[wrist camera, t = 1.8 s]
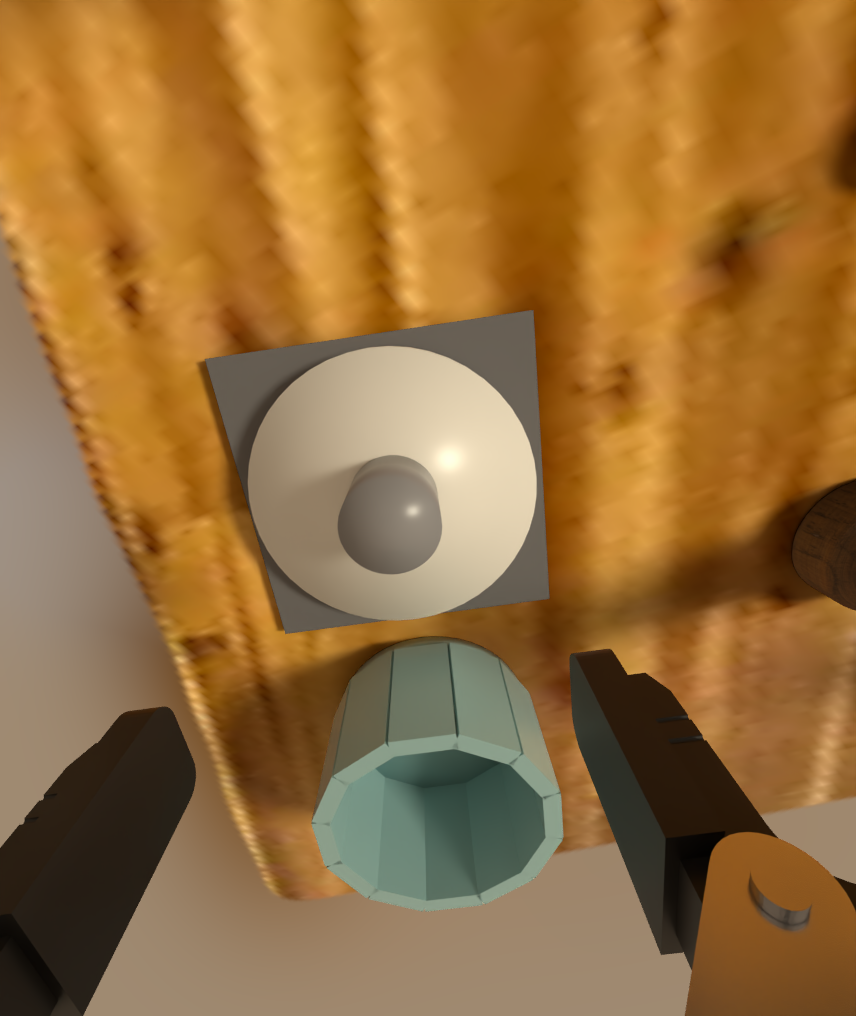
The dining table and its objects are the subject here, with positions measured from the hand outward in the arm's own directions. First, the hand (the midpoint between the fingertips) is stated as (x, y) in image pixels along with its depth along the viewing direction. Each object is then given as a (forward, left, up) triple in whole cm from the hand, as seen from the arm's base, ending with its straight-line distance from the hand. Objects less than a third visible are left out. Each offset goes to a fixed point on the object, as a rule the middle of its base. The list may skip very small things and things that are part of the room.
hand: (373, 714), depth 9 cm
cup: (+14, 0, -14) cm, 20 cm away
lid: (0, 0, -14) cm, 14 cm away
